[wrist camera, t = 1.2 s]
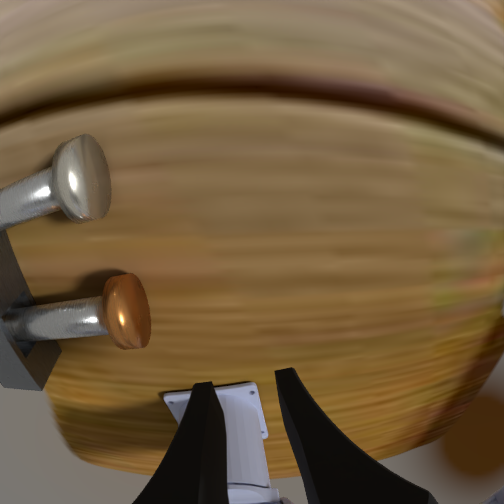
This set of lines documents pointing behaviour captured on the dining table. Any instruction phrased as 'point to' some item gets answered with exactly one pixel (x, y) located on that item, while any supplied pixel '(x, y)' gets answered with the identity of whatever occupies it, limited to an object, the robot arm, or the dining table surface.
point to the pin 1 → (62, 186)
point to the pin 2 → (89, 316)
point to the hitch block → (24, 352)
